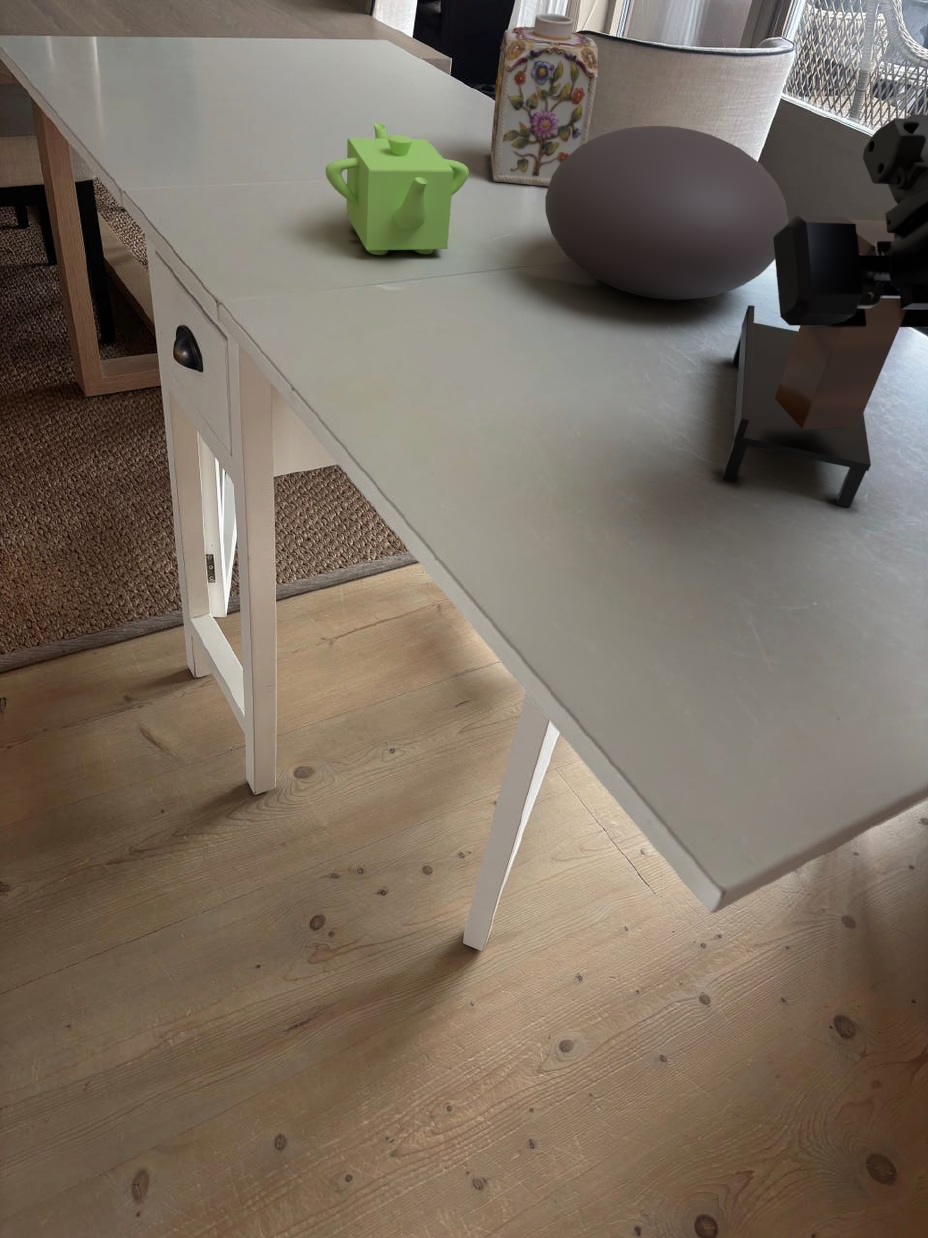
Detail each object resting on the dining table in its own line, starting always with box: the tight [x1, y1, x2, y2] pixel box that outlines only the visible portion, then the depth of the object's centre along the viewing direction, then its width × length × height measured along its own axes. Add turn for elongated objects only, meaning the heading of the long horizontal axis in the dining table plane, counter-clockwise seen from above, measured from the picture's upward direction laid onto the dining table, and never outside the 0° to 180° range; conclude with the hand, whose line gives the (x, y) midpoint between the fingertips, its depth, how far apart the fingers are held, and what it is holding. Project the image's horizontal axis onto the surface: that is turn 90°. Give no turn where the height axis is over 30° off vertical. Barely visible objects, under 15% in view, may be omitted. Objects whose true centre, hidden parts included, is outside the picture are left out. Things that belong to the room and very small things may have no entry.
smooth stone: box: [544, 125, 790, 301], centre depth 97 cm, size 25×25×15 cm
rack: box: [722, 304, 872, 508], centre depth 79 cm, size 10×22×6 cm, turn 166°
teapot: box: [324, 122, 470, 256], centre depth 100 cm, size 15×13×11 cm
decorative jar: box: [490, 13, 599, 188], centre depth 121 cm, size 12×12×18 cm
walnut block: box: [775, 219, 907, 429], centre depth 67 cm, size 5×5×14 cm
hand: (838, 320), depth 68 cm, fingers closed on walnut block, 4 cm apart
